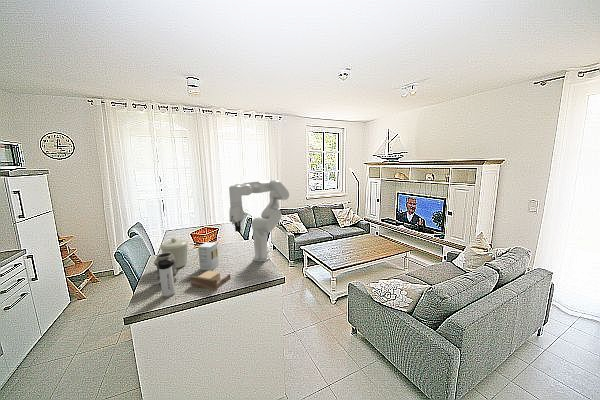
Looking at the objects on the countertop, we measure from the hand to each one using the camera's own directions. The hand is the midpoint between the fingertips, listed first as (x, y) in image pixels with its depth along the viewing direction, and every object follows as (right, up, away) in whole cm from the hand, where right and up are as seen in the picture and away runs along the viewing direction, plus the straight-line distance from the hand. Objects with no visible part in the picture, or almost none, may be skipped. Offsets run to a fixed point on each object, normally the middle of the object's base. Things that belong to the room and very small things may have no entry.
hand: (238, 231), depth 160 cm
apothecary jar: (-41, -31, -11) cm, 52 cm away
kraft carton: (-15, -30, -12) cm, 36 cm away
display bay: (-13, -30, -12) cm, 34 cm away
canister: (-47, -27, +13) cm, 56 cm away
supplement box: (-22, -27, +9) cm, 36 cm away
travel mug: (-33, -33, -25) cm, 53 cm away
